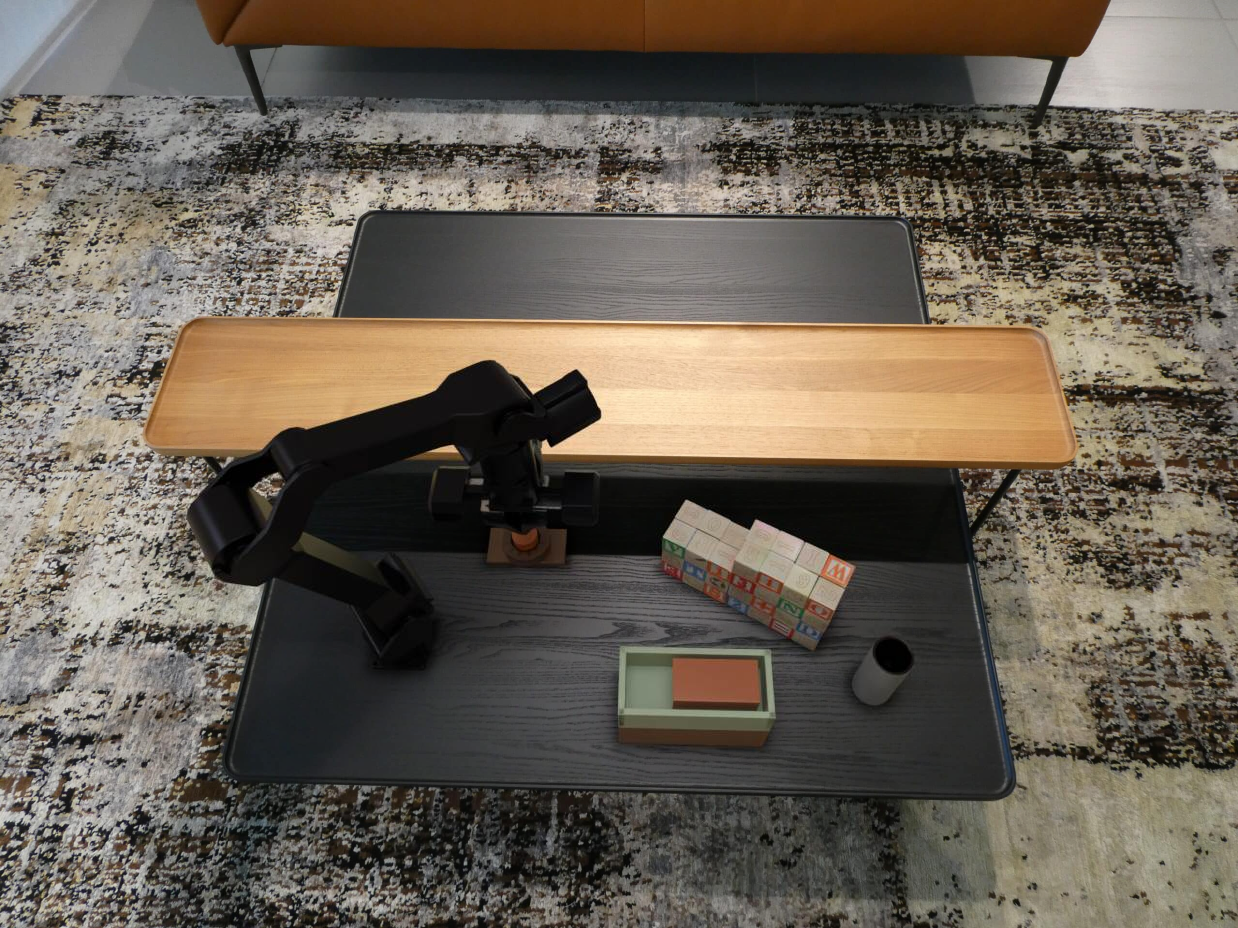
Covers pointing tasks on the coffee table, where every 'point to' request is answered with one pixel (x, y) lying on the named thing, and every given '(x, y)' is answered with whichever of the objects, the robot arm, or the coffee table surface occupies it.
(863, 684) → the planter
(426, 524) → the coffee table surface
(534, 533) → the button
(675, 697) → the orange rectangular box
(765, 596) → the stack of blocks
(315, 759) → the coffee table surface
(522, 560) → the button block
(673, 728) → the bin
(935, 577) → the coffee table surface
